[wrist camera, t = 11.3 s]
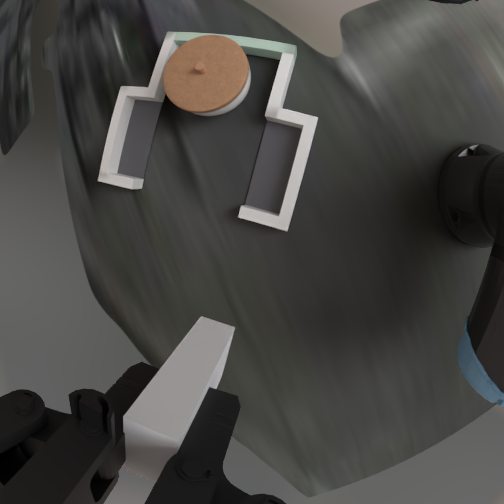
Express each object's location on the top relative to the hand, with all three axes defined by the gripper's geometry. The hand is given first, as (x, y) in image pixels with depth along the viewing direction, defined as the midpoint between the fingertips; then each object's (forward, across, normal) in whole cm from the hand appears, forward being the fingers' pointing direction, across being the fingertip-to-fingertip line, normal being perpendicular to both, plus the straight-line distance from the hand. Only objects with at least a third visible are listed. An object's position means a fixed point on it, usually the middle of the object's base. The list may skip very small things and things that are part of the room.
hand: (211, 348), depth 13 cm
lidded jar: (+31, -13, +18) cm, 38 cm away
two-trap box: (+30, -13, +14) cm, 36 cm away
